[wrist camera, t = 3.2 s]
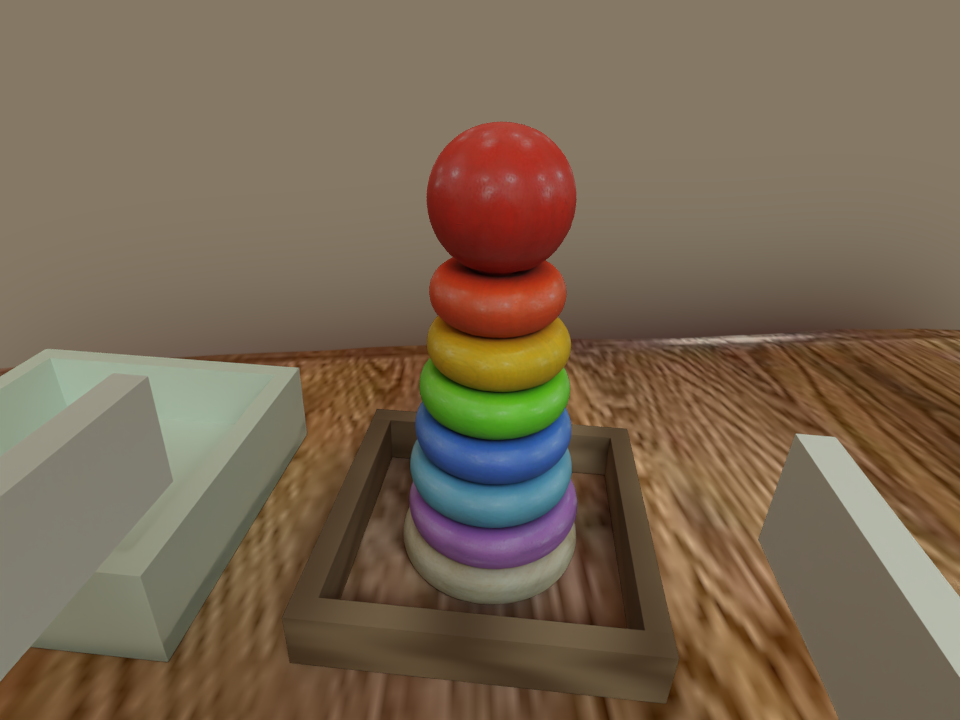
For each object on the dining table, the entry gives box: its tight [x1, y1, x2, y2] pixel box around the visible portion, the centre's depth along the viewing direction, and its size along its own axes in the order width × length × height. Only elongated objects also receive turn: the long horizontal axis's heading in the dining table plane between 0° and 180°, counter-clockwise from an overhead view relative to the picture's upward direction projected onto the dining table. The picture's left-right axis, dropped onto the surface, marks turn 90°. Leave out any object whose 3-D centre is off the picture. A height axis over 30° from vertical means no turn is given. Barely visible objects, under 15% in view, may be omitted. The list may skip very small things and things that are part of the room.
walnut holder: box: [282, 409, 679, 704], centre depth 28 cm, size 14×14×2 cm
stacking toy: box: [403, 122, 577, 605], centre depth 24 cm, size 8×8×19 cm
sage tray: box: [0, 349, 307, 662], centre depth 28 cm, size 15×15×4 cm
